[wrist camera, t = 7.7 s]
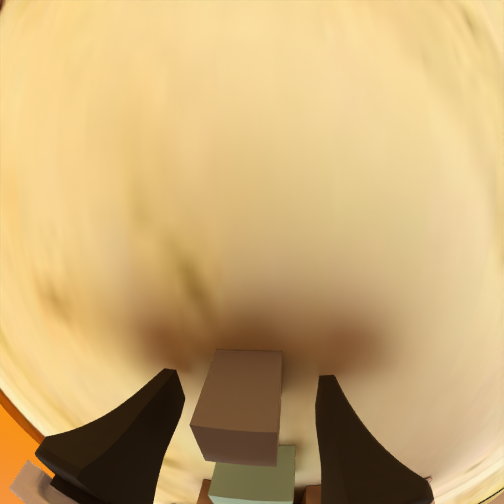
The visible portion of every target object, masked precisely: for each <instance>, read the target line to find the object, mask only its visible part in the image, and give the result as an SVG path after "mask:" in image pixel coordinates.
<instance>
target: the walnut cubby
mask: <svg viewBox="0 0 504 504" xmlns="http://www.w3.org/2000/svg"><path fill="white" fill-rule="evenodd" d="M210 484H211V480H205V479H204V480H203V483H202V487H201V490H200V494H199V498H198V501H197V504H214V503H213V502H212V500H211V499H210V497H209V496H208V492H209V488H210ZM301 504H321V485H315V486H306V489H305V492H304V495H303V498H302V501H301Z"/></svg>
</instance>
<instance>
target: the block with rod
mask: <svg viewBox="0 0 504 504" xmlns="http://www.w3.org/2000/svg"><path fill="white" fill-rule="evenodd" d="M281 394H282V351H241V350H219V349H217V350H216V353H215V355H214V358H213V361H212V364H211V367H210V369H209V372H208V375H207V378H206V380H205V383H204V386H203V389H202V392H201V394H200V397H199V400H198V403H197V405H196V408H195V411H194V414H193V417H192V419H191V422H190V427H191V429H192V432H193V434H194V436H195V439H196V441H197V443H198V446H199V448H200V450H201V452H202V454H203V457H204V459H205V460H206V461H212V462H216V465H215V469H214V473H213V477H212V481H211V484H210V488H209V492H208V496H209V497H210V499H211V500H212V502H213V503H214V504H293V499H294V477H295V445H278V443H279V428H280V412H281Z"/></svg>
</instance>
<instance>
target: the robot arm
mask: <svg viewBox="0 0 504 504" xmlns="http://www.w3.org/2000/svg"><path fill="white" fill-rule="evenodd" d="M184 402H185V395H184V392H183V389H182V386H181V383H180V380H179V377H178V374H177V371H176V370H174V369H166V368H164V369H163V370H162V371H161V372H160V373H158V374H157V375H156V376H155V377H154V378H153V379H152V380H150V381H149V382H148V383H147V384H146V385H145V386H144V387H143V388H141V389H140V390H139V391H138V392H137V393H135V394H134V395H133V396H132V397H130V398H129V399H128V400H126V401H125V402H124V403H122V404H121V405H120V406H118V407H117V408H115V409H114V410H112V411H111V412H109V413H108V414H106V415H104V416H102V417H101V418H99V419H97V420H95V421H93V422H90V423H88V424H86V425H84V426H82V427H79V428H76V429H74V430H71V431H68V432H64V433H60V434H56V435H52V436H46V437H45V439H44V440H43V442H42V443H41V444H40V446H39V447H38V449H37V450H36V452H35V455H36V457H37V458H38V459H39V460H40V461H41V462H42V463H43V464H44V465H45V466H46V467H48V468H49V469H50V470H51V471H52V472H53V473H54V474H55V476H54V478H53V479H52V478H51V477H50V476H49V475H48V474H47V473H45V472H44V471H43V470H41V469H40V468H39V467H38V466H36V465H35V464H33V463H32V462H31V461H29V460H27V462H26V463H25V464H24V467H22V469H21V470H20V472H19V474H18V475H17V477H16V478H15V480H14V481H13V483H12V485H11V486H10V490H11V491H12V492H13V493H14V494H15V495H16V496H17V497H19V498H20V499H21V500H22V501H23V502H24V503H25V504H153V501H154V496H155V490H156V485H157V481H158V477H159V473H160V469H161V465H162V462H163V458H164V455H165V453H166V450H167V448H168V445H169V443H170V441H171V438H172V436H173V434H174V431H175V429H176V427H177V424H178V422H179V419H180V417H181V414H182V410H183V406H184ZM315 414H316V430H317V438H318V445H319V453H320V461H321V504H435V502H434V497H433V492H432V489H431V485H430V482H431V481H432V478H428V479H424V478H422V477H421V476H419V475H418V474H416V473H414V472H413V471H411V470H410V469H409V468H407V467H406V466H405V465H403V464H402V463H401V462H399V461H398V460H397V459H396V458H395V457H394V456H393V455H391V454H390V453H389V452H388V451H387V450H386V449H385V448H384V447H383V446H382V445H381V444H380V443H379V442H378V441H377V440H376V439H375V438H374V436H373V435H372V434H371V433H370V432H369V431H368V429H367V428H366V427H365V425H364V424H363V423H362V421H361V420H360V419H359V417H358V416H357V414H356V413H355V411H354V410H353V408H352V407H351V405H350V404H349V402H348V400H347V398H346V397H345V395H344V393H343V391H342V389H341V387H340V385H339V383H338V381H337V379H336V377H335V376H334V375H324V376H319V383H318V390H317V397H316V403H315Z"/></svg>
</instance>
